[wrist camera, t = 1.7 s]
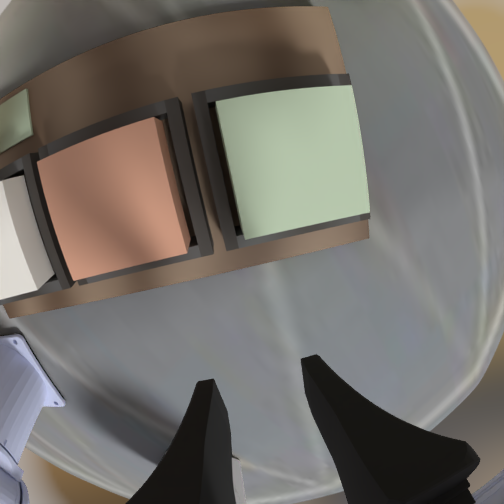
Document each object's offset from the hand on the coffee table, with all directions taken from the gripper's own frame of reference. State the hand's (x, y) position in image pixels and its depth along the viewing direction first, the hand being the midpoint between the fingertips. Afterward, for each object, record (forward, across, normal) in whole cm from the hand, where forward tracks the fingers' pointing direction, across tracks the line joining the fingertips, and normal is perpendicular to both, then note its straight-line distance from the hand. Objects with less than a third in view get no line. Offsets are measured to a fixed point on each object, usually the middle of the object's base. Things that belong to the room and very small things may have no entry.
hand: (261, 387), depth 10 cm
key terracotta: (+5, +5, -7) cm, 10 cm away
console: (+8, +4, -9) cm, 13 cm away
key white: (+5, +13, -8) cm, 16 cm away
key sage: (+5, -3, -8) cm, 10 cm away
